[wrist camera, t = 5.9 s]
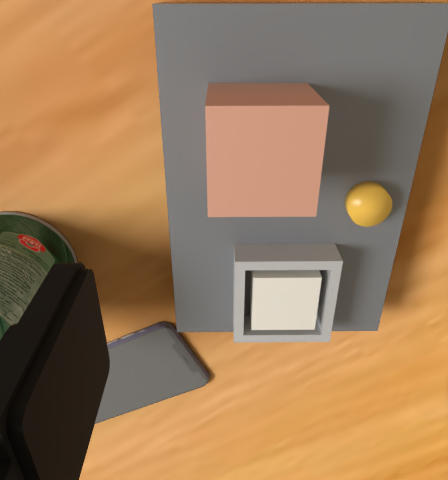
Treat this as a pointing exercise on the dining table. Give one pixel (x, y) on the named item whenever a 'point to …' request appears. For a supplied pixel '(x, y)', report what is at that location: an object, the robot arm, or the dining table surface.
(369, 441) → the dining table surface
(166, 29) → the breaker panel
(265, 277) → the button
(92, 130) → the dining table surface
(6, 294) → the canned tomato
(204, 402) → the dining table surface
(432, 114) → the dining table surface
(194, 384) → the smartphone
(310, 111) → the block
